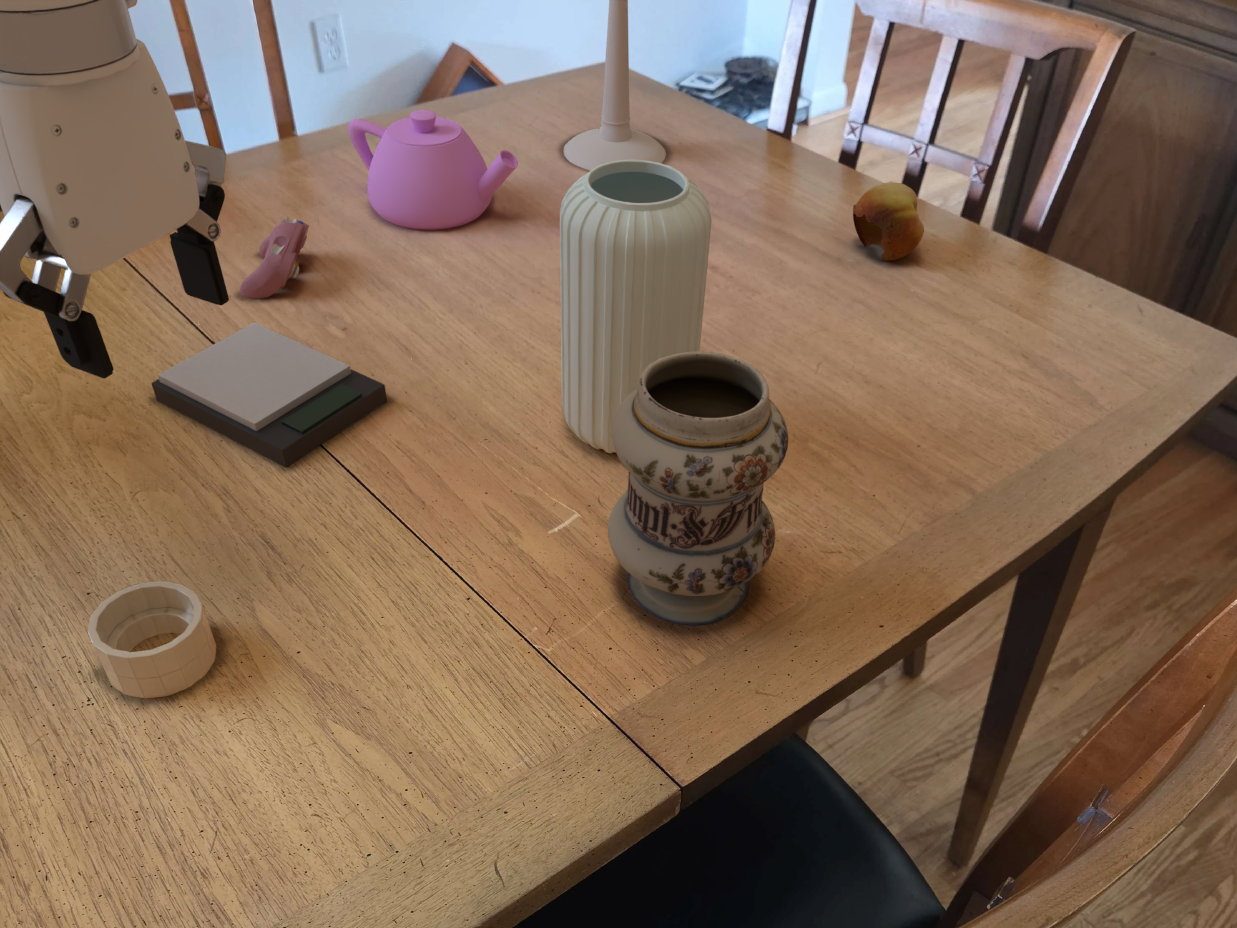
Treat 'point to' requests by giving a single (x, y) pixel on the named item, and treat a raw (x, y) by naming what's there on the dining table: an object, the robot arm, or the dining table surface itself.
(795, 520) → the dining table surface
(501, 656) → the dining table surface
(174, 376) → the scale
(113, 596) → the ring
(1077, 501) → the dining table surface
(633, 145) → the candlestick
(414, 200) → the teapot
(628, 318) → the vase
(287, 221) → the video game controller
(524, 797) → the dining table surface
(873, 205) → the fruit
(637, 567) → the apothecary jar
